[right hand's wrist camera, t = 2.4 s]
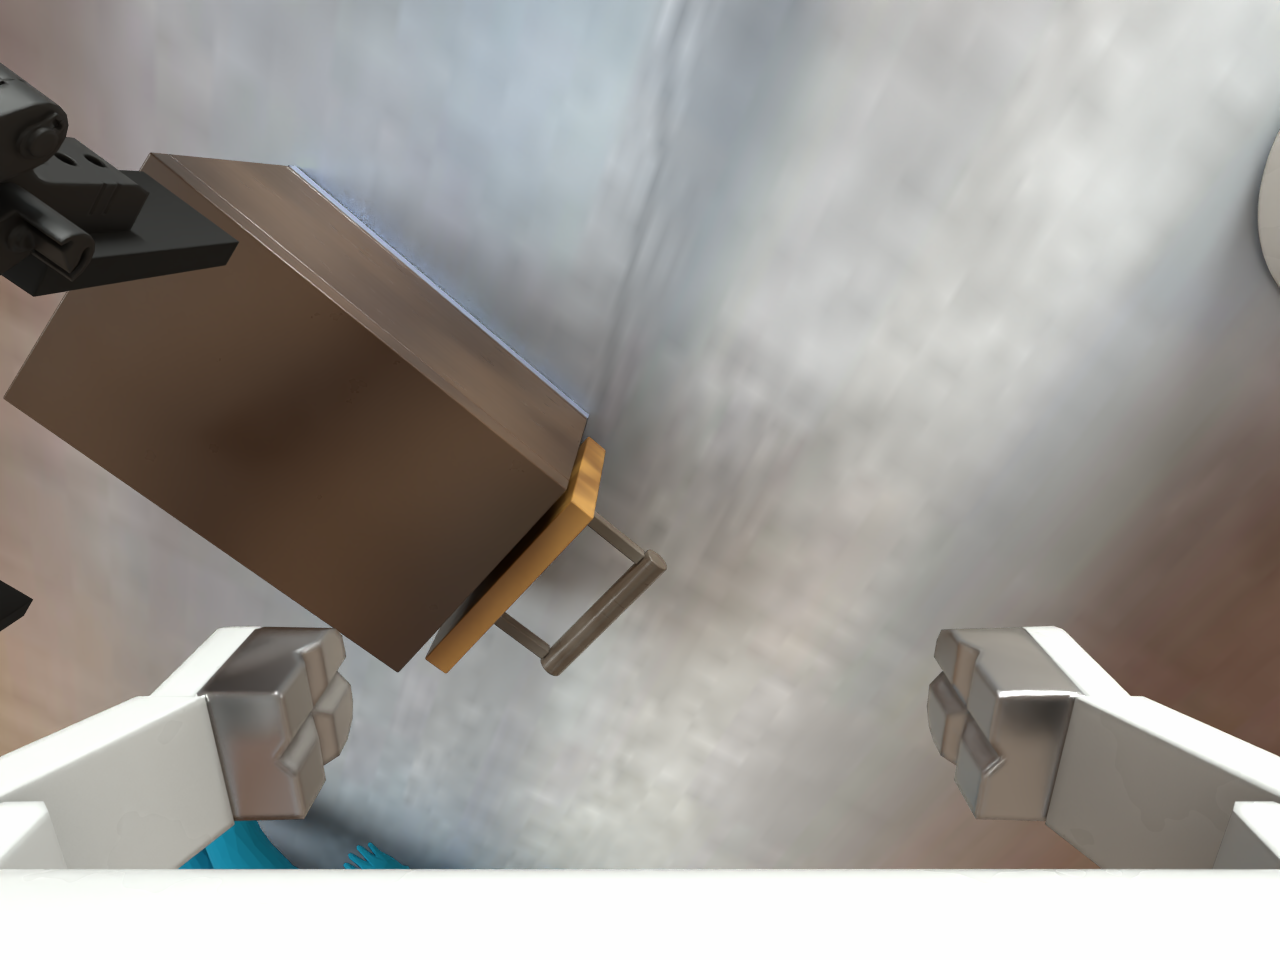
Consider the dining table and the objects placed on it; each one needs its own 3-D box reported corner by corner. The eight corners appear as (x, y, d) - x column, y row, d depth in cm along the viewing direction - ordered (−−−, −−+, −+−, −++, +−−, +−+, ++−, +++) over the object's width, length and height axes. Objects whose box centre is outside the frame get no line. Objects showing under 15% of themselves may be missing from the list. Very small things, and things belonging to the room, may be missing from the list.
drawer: (678, 511, 40) (686, 593, 32) (558, 633, 43) (535, 737, 34) (335, 223, 35) (237, 230, 27) (224, 381, 38) (103, 432, 30)
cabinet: (589, 414, 39) (567, 490, 29) (459, 559, 42) (397, 673, 32) (295, 165, 35) (149, 150, 25) (175, 345, 38) (1, 398, 28)
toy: (128, 756, 40) (587, 1106, 38) (267, 664, 50) (635, 938, 48) (38, 945, 45) (439, 1261, 43) (181, 827, 55) (510, 1079, 53)
